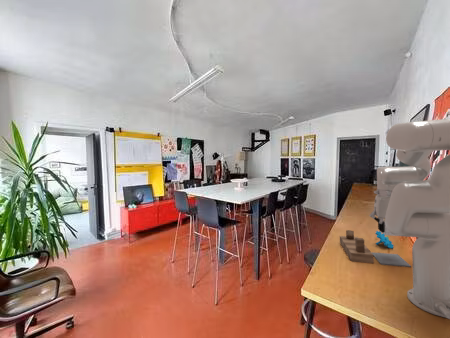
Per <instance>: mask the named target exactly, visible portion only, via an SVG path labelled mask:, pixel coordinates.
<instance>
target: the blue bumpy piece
mask: <svg viewBox="0 0 450 338" xmlns="http://www.w3.org/2000/svg"><path fill="white" fill-rule="evenodd" d="M375 235H376V238H378V239H379V240H378V241H377V242H376V243H375V245H377V246H378V245H380V244H382V243H383V245H384V246H385V247H387V248H389V249H394V244H393V242H392V241H391V240H390V239H389V235H384V234H383V233H382V232H381V231H380V230H379V231H378V230H376V231H375Z"/></svg>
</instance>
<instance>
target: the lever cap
mask: <svg viewBox="0 0 450 338" xmlns="http://www.w3.org/2000/svg"><path fill="white" fill-rule="evenodd" d="M382 223H383V225H384V232H381V234H384V235H385V236H394V237H398V236H397V235H394V234H392V233H391V232H390V231H389V230H388V229H387V227H386V224H385V218H384V219H383V222H382Z"/></svg>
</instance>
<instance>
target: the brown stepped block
mask: <svg viewBox="0 0 450 338" xmlns="http://www.w3.org/2000/svg"><path fill="white" fill-rule="evenodd" d="M339 243H340V245H341V247H342V248H343V250H344V252H345V254H346V256H348V258H349V259H348V260H349V261H351V262H354V263H355V262H356V263H365V264H366V263H367V264H374V262H375V260H374V259H375V257H374V256H373V254H372V253H371V250H370V249H369V248H368V247H367V245H365V239H364V238H362V237H358V236H355V233H354V230H350V229H346V230H345V235H339Z"/></svg>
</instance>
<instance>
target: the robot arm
mask: <svg viewBox="0 0 450 338" xmlns="http://www.w3.org/2000/svg"><path fill="white" fill-rule="evenodd" d="M385 141H386V144H387V146H388V147H389V148H390V149H393V150H396V158H397V159H398V161H400V162H401V163H403V164H404V165H406V166H380V167H377V169H376V184H377V185H376V190H374V191H373V193H374V194H376V195H375V198H374V205H373V211H372V212H371V213H370V214H369V215H368V216H369V217H370V218H372V219H373V220H375V221H376V222H377V229H378V230H379V231H380V232H381V233H382V232H384V225H383V223H382V222H383V219H384V218H385V224H386V227H387V229H388V230H389V231H390V232H391V233H392V234H394V235H397V236H396V237H406V238H408V237H410V238H416V240H415V241H414V242H413V244H412V251H411V254H412V260H411V261H412V285H413V286H412V288H410V289H408V290H407V294H406V295H407V299H408V300H409V301H410V302H411V303H412V304H413V305H414V306H416V307H417V308H419V309H420V310H422V311H424V312H427V313H430V314H432V315H434V316H438V317H442V318H446V319H447V320H450V153H449V154H448V155H446V156H445V157H443V158H442V159H441V160H439V161H438V162H437V163H436V165H434V166H433V169H431V168H432V165H431V161H430V159H429V157H430V155H431V154H432V153H433V152H435V151H436V152H437V151H438V152H439V151H450V118H444V119H443V118H441V119H431V120H419V121H409V122H400V123H395V124H393V125H392V126H391V127H390V128H389V130H388V131H387V133H386V137H385ZM431 170H432V171H431ZM427 177H429V178H428V179H426V178H427ZM376 216H377V217H376Z"/></svg>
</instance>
